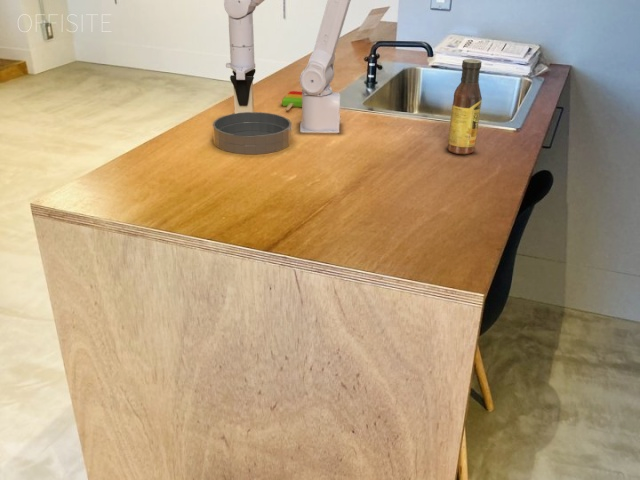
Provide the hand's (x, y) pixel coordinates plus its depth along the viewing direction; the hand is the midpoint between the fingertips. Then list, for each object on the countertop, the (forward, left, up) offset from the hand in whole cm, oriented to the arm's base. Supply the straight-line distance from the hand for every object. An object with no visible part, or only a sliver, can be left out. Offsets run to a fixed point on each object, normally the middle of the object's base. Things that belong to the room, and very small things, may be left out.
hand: (244, 102), depth 170 cm
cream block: (0, 0, -2) cm, 2 cm away
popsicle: (-12, -15, -5) cm, 20 cm away
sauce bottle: (-51, +20, -5) cm, 55 cm away
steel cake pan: (-3, +16, -5) cm, 17 cm away
